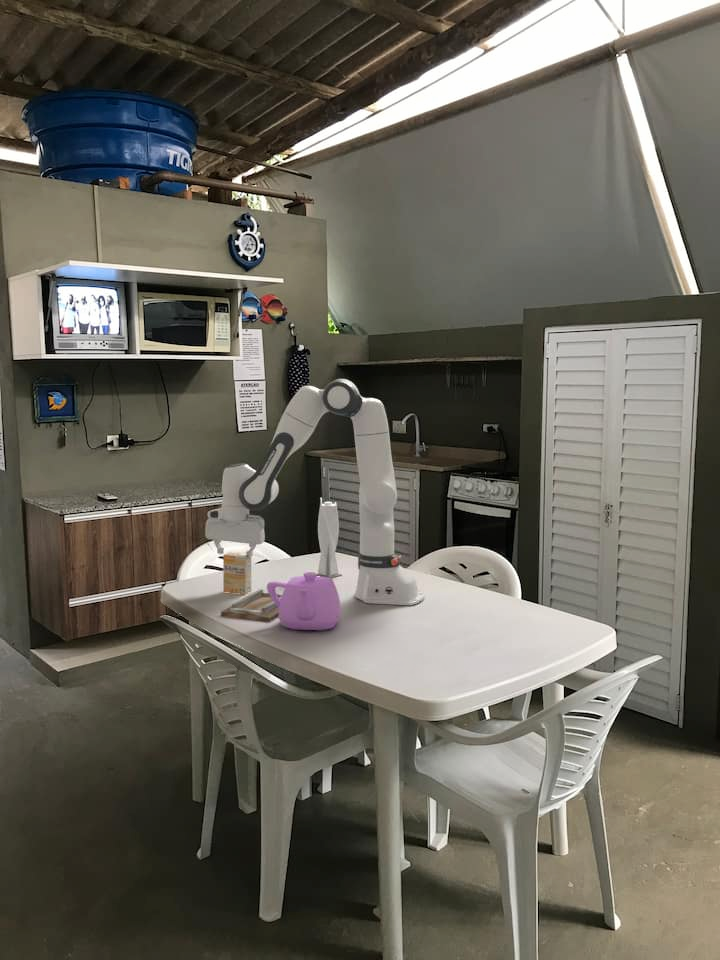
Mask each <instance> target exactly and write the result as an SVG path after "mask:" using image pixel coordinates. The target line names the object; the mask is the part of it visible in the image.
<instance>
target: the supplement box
mask: <svg viewBox="0 0 720 960" xmlns="http://www.w3.org/2000/svg"><path fill="white" fill-rule="evenodd" d="M222 557H223V561H222V563H223V569H222V570H223V571H222V573H223V582H222V583H223V592H230V593H240V594H239V595H241V594H247V593H248V592H250V591H251V592H252V557H247V556H246V553H239V552H231V551H229V552H226V553H223V556H222ZM223 592H222V593H223ZM251 592H250V593H251ZM230 593H229V594H230ZM248 594H249V593H248ZM248 594H247V595H248Z"/></svg>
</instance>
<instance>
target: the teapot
mask: <svg viewBox="0 0 720 960" xmlns="http://www.w3.org/2000/svg"><path fill="white" fill-rule="evenodd" d="M317 574H318V573H316V572H314V571H308V572H307V571H306V572H303V576H293V577H290V579H289V580H288V581H287V582H286V583H285V582H281V581H269V582H268V583H267V585H266V590H267V592H268V593H269V595H270V596H271V598H272V599H273V601H274V602H275V603H276V604H277V606H278V607H279V616H278V619H279V622H280V624H281V625H282V626H283V627H284V628H286V629H291V630H294V631H297V630H298V631H299V630H303V631H304V630H305V631H308V630H309V631H310V630H311V631H312V630H314V631H317V632H319V631H320V632H321V631H325V630H329V629H333V628H334V627H335V626H336V625H337V622H338V621H339V619H340V617H341V614H342V613H341V612H342V611H341V609H342V607H341V601H340V596H339V593H338V589H337V587H336V584H335V582H334V580H333V578H327V577H317V576H316V575H317ZM278 587H279V588H284V590H283V592H282V594H283V595H282V597H281V601H280V600H279V598H278V596H277V594H276V593H277V591H276V588H278Z"/></svg>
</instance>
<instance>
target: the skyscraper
mask: <svg viewBox="0 0 720 960" xmlns="http://www.w3.org/2000/svg"><path fill="white" fill-rule="evenodd" d="M319 499H320V503H319V511H318V521H317V535H318V536H317V537H318V542H319V545H318V546H319V549H320V557H319V564H318V570H317V573H316V574H317V575H316V577H317V576H320V577H327V578H331V579H335V578H338V576H339V577H342V576H343V575H342V574H341V573H339V568H338V563H337V561H338V560H337V557H336V556H337V555H336V549H337V546H338V545H337V544H338V541H339V540H338V539H339V532H340V521H339V513H338V504H337V502H336V501H334V503H333V502H332V501H324V503H323V498H322V497H320V498H319ZM334 577H335V578H334Z"/></svg>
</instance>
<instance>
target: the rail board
mask: <svg viewBox="0 0 720 960" xmlns="http://www.w3.org/2000/svg"><path fill="white" fill-rule="evenodd" d="M276 594H277V596H278V598H279V600H280V601H281V597H282V595H283V593H280V592H279V593H278V592H276ZM220 616H222V617H229V618H235V619H236V618H237V619H244V620H253V621H261V622H269V623H272V621H274V620H275V619H277V618H279V607H278V606H277V604H276V603H275V602H274V601H273V599H272V598H271V596H270V595H269V593H268V591H267V592H266V591H264V590H263V589H257V590H256V591H254V592H252V593H249V595H248V594H247V596H246V595H245V596H244V597H243V598H241V599H239V600H237V601H236V602H234V603H232V604H231V605H230V606H229V607H227V608H225V609H223V610H222V611H220Z"/></svg>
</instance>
